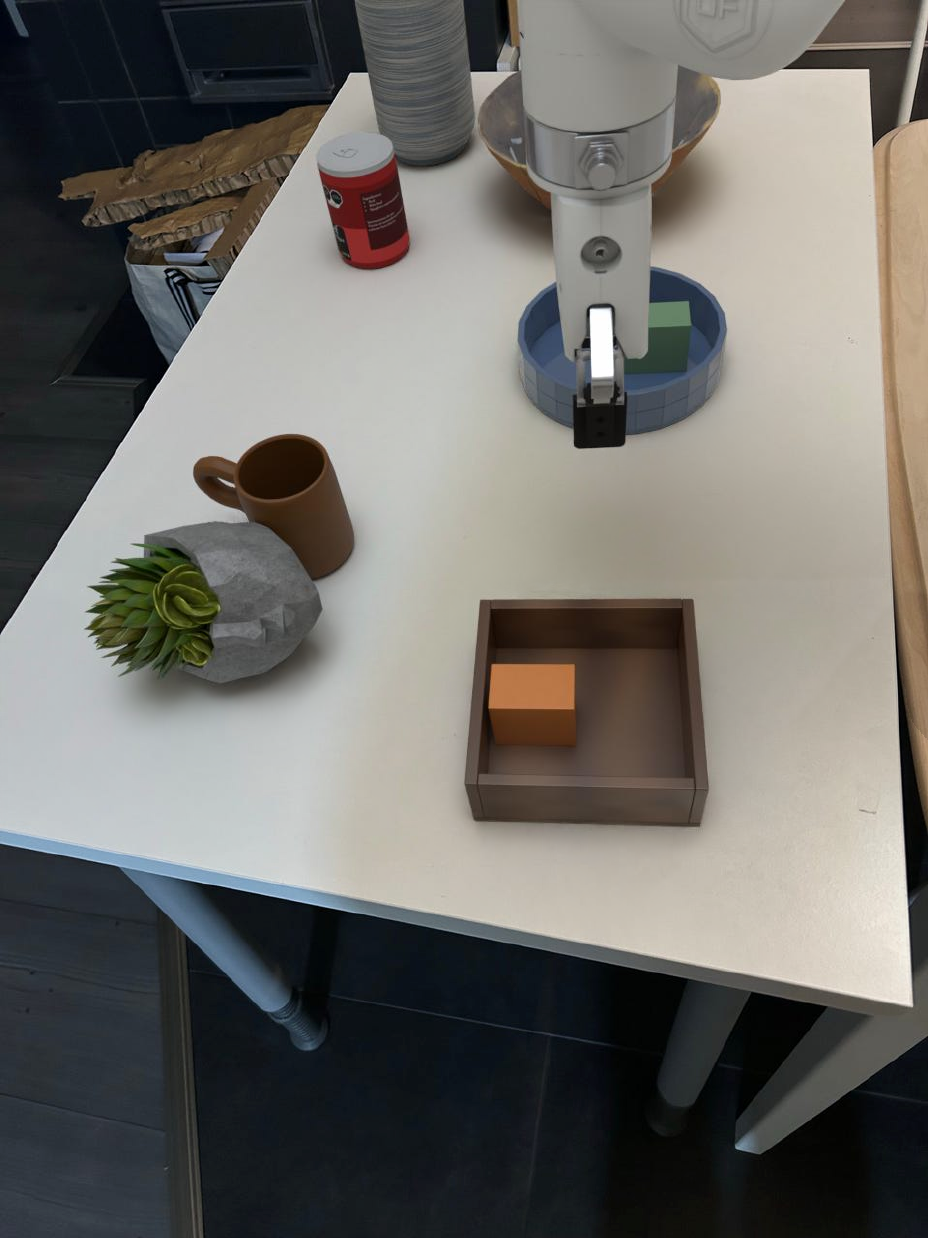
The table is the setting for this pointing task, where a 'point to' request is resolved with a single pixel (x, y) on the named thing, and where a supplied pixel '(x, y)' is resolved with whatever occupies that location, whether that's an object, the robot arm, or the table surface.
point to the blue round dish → (647, 393)
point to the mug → (286, 497)
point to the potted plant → (207, 602)
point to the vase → (419, 76)
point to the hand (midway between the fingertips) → (596, 392)
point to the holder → (595, 715)
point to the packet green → (664, 340)
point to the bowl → (507, 134)
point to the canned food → (364, 199)
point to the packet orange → (533, 704)
